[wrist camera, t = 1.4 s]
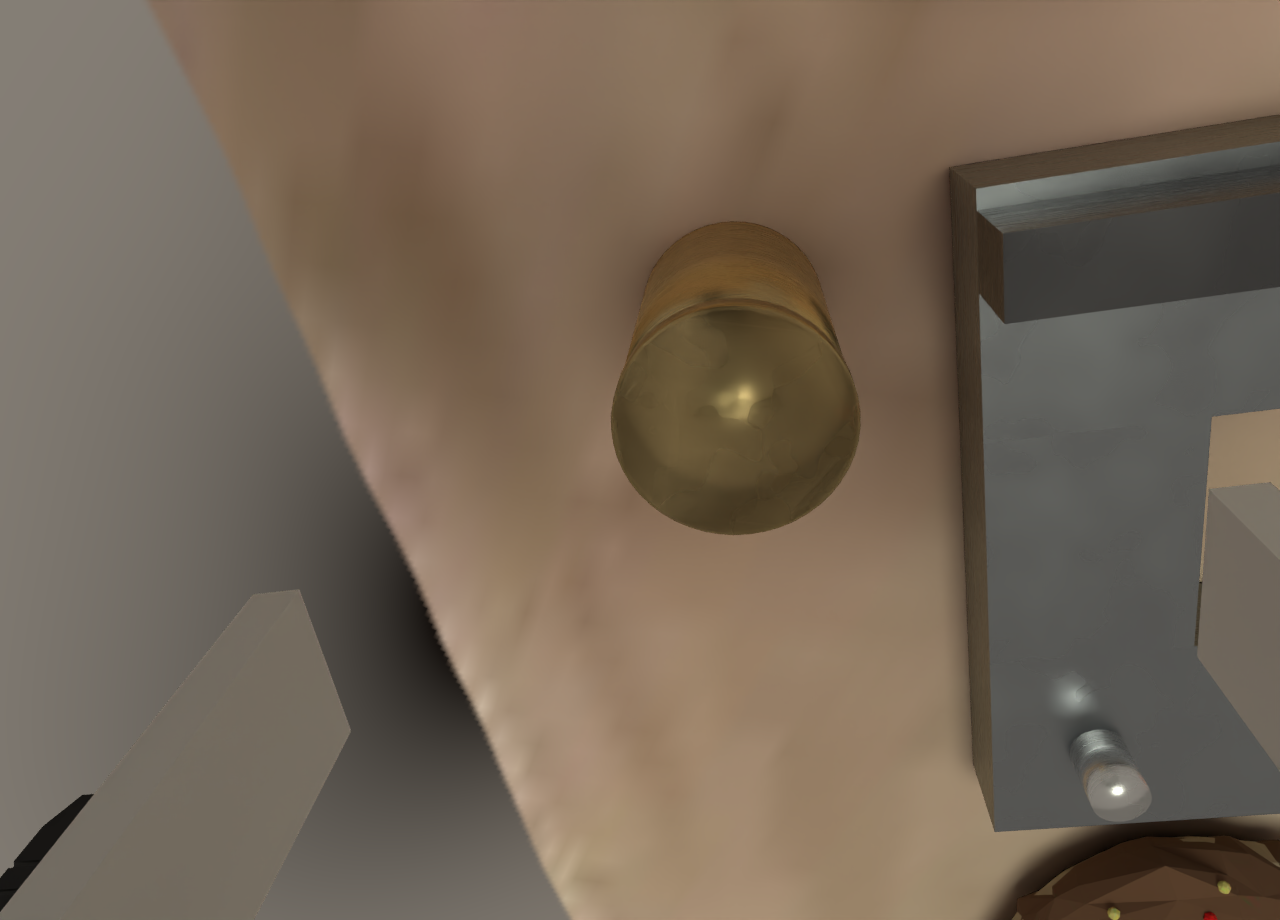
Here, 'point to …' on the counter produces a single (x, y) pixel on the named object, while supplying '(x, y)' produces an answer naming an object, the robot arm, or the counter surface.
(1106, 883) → the donut
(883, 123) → the counter surface
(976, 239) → the jig
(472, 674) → the counter surface
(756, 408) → the amber grooved cylinder
